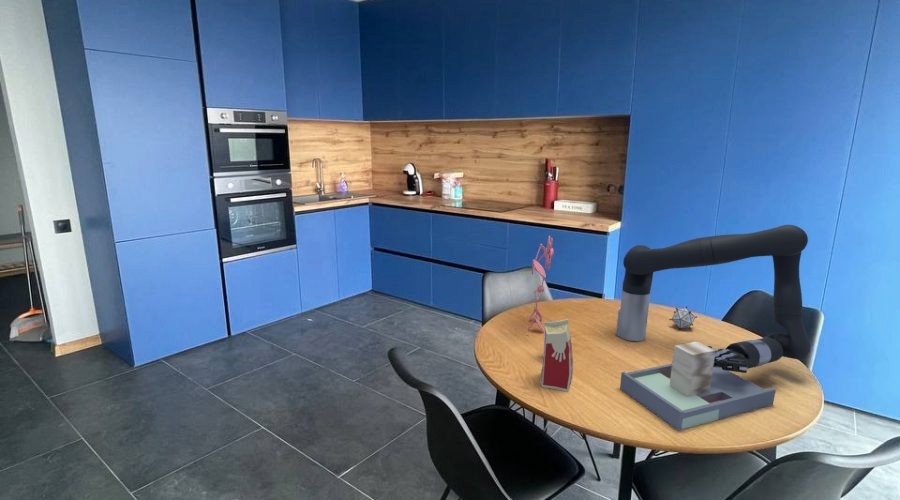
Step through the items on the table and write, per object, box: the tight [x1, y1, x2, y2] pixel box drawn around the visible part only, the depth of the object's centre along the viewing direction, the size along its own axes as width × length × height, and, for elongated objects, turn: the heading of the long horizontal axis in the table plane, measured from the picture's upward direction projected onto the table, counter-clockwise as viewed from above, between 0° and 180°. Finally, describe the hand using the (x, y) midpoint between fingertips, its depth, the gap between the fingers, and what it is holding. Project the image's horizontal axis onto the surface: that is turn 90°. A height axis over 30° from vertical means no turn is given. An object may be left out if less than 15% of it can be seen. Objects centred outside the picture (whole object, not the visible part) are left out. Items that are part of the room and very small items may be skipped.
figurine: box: [526, 235, 562, 337], centre depth 172 cm, size 15×26×35 cm, turn 170°
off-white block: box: [669, 341, 717, 397], centre depth 125 cm, size 8×6×12 cm
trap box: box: [619, 363, 777, 431], centre depth 128 cm, size 33×21×5 cm, turn 110°
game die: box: [668, 306, 698, 331], centre depth 174 cm, size 9×8×10 cm
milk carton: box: [539, 318, 574, 393], centre depth 134 cm, size 9×9×20 cm
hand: (703, 364), depth 127 cm, fingers closed
